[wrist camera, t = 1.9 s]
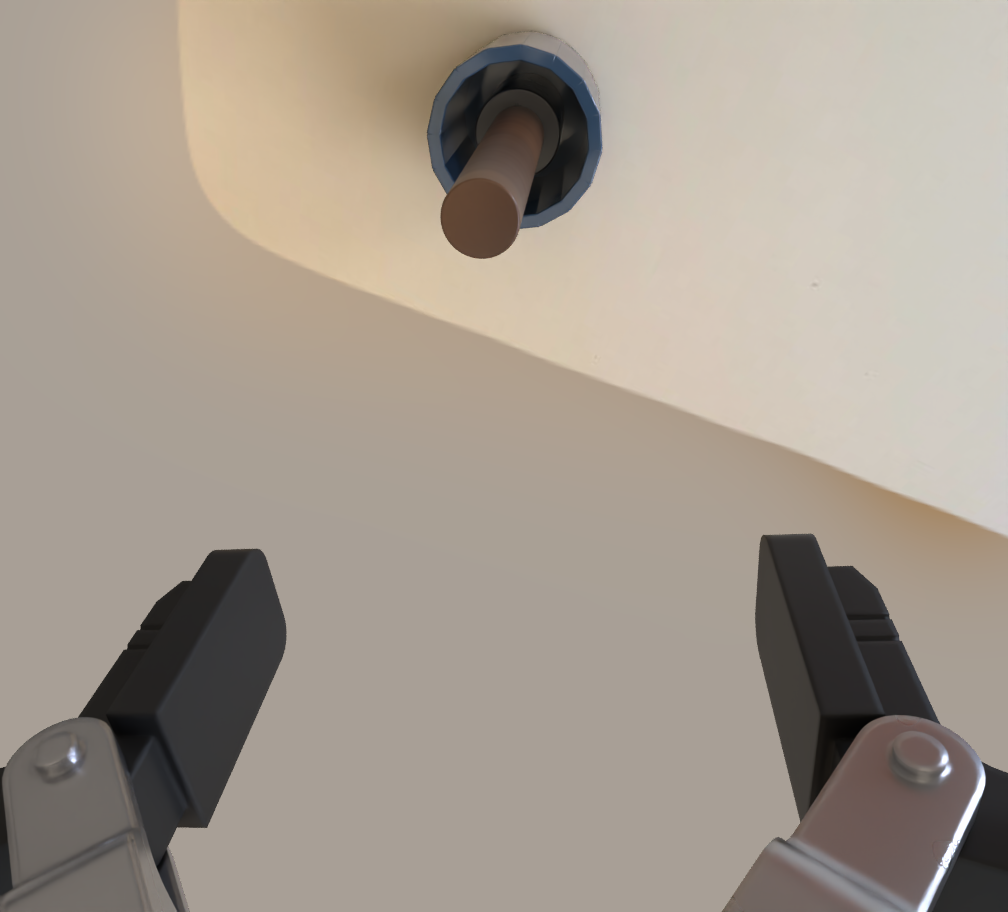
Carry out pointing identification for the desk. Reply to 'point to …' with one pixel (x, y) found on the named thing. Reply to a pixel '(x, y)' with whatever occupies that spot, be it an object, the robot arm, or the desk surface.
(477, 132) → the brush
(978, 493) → the desk surface
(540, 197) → the brush cup
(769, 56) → the desk surface
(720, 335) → the desk surface
